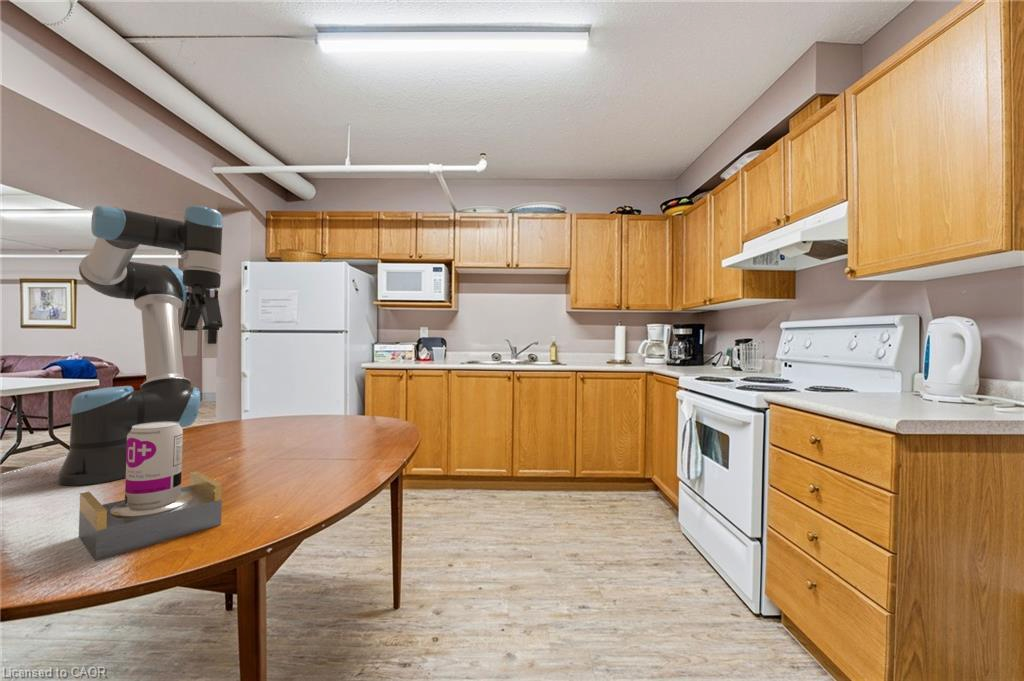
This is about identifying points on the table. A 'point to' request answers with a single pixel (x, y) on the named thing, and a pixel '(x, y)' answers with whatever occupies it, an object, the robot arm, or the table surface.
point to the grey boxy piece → (148, 519)
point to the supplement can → (153, 465)
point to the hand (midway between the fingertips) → (199, 357)
